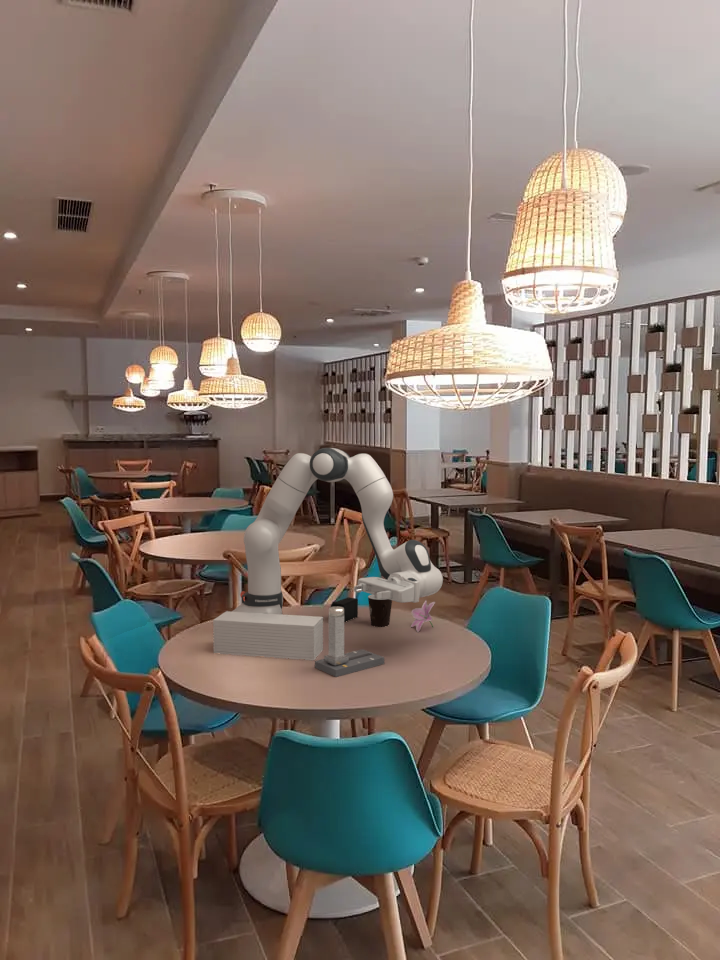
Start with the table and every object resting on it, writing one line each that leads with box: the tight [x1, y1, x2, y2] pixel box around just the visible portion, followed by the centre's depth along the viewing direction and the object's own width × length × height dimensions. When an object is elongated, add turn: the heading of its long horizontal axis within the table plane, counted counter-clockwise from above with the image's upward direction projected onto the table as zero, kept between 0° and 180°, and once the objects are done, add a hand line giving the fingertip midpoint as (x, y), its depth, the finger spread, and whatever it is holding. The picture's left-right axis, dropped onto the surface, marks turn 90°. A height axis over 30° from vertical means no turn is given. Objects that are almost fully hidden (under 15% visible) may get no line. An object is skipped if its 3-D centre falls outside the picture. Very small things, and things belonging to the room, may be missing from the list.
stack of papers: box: [212, 610, 324, 661], centre depth 230 cm, size 32×11×11 cm, turn 78°
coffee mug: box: [367, 594, 393, 628], centre depth 259 cm, size 12×9×10 cm
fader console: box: [314, 648, 385, 678], centre depth 217 cm, size 18×10×2 cm, turn 129°
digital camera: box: [330, 596, 359, 623], centre depth 268 cm, size 10×5×7 cm, turn 149°
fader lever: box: [323, 606, 349, 666], centre depth 213 cm, size 5×5×16 cm
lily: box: [410, 600, 436, 633], centre depth 256 cm, size 12×12×10 cm
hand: (365, 592), depth 219 cm, fingers open, 8 cm apart
